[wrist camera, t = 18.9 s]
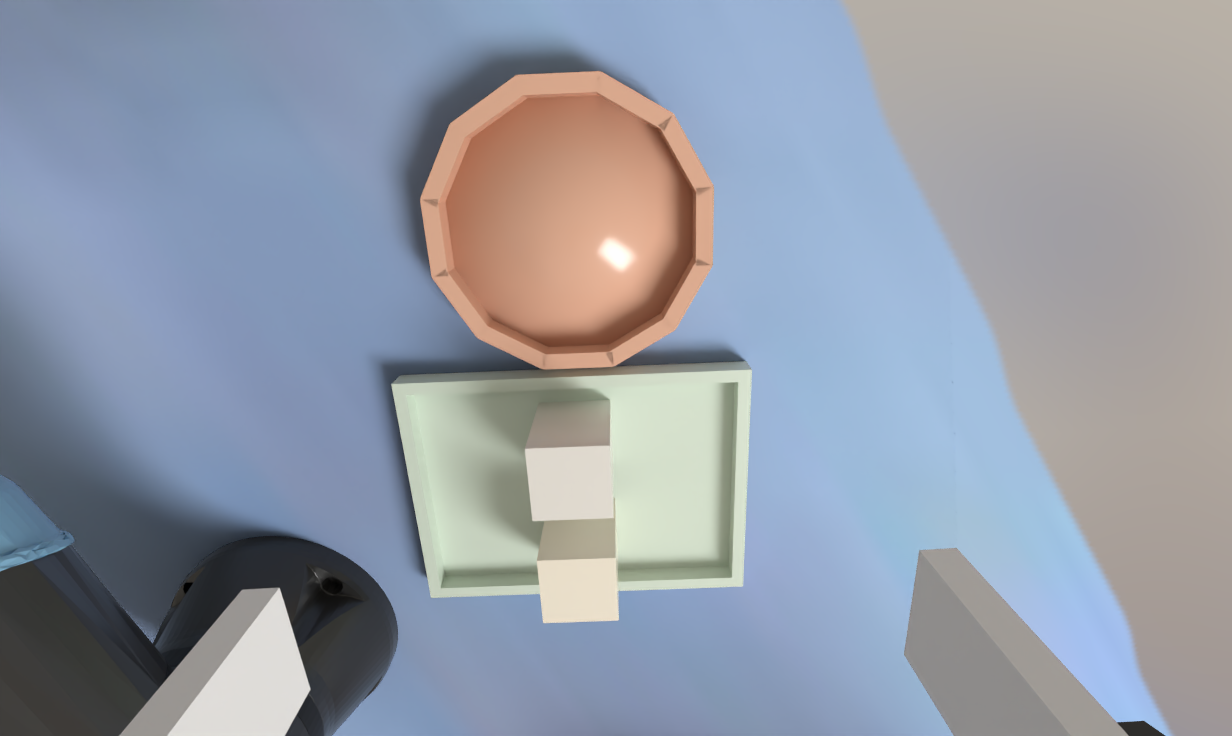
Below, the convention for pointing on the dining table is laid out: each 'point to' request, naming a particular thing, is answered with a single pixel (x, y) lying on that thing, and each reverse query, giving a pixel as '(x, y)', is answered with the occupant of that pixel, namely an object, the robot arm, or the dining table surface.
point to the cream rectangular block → (579, 570)
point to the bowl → (568, 220)
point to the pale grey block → (571, 461)
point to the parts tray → (643, 472)
